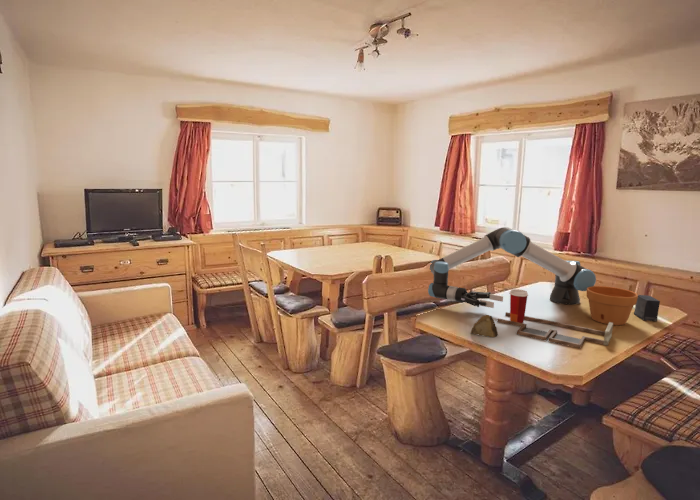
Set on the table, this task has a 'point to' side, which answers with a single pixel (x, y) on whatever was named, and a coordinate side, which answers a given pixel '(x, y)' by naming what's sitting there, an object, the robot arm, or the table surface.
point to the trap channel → (557, 337)
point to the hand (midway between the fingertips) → (498, 302)
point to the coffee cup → (518, 305)
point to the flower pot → (610, 304)
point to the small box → (647, 308)
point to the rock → (485, 327)
